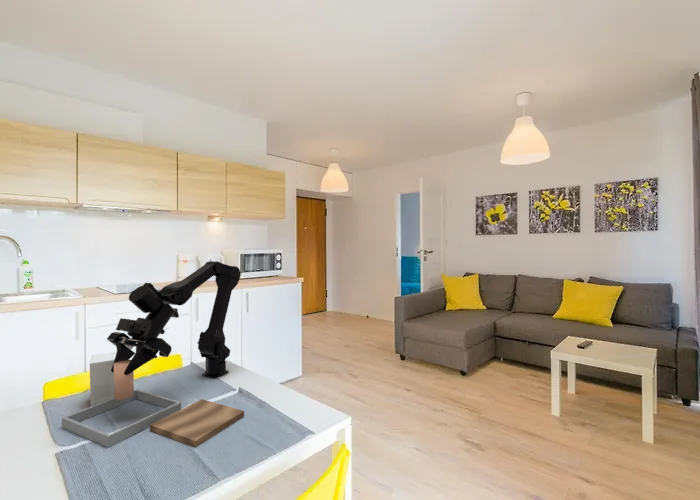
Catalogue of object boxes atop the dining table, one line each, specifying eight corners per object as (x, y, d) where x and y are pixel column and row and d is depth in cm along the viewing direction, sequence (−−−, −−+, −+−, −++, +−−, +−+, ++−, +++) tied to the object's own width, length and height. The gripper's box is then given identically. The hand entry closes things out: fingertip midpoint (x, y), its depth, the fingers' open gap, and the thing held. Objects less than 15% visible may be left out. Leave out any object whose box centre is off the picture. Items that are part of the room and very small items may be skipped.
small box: (92, 398, 106) (92, 355, 106) (118, 393, 110) (117, 351, 109) (89, 409, 99) (89, 363, 99) (116, 403, 103) (116, 359, 102)
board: (149, 430, 88) (149, 424, 88) (201, 404, 103) (201, 399, 103) (195, 447, 81) (195, 440, 81) (244, 416, 96) (244, 411, 96)
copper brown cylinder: (110, 397, 93) (109, 363, 92) (127, 391, 97) (126, 358, 96) (120, 401, 91) (120, 366, 90) (137, 394, 95) (137, 361, 94)
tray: (62, 427, 89) (61, 417, 89) (136, 397, 107) (136, 389, 107) (108, 447, 81) (108, 436, 81) (181, 411, 98) (181, 402, 98)
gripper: (113, 303, 100) (71, 353, 90) (162, 308, 93) (122, 363, 83) (138, 325, 108) (102, 373, 98) (185, 331, 101) (152, 383, 91)
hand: (118, 373), depth 92 cm, fingers closed on copper brown cylinder, 4 cm apart
